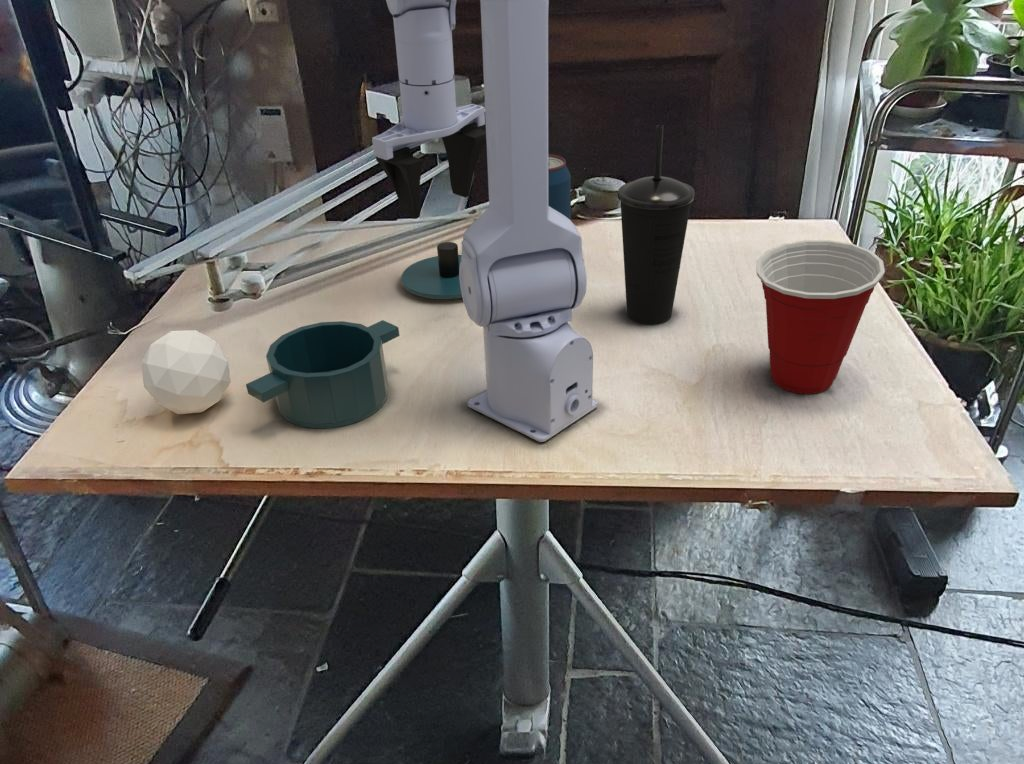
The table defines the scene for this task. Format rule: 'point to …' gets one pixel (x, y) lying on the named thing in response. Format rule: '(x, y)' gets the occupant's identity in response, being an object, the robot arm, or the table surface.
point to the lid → (435, 274)
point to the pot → (327, 373)
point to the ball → (185, 371)
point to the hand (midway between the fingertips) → (436, 204)
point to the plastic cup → (814, 308)
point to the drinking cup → (653, 240)
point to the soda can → (559, 185)
